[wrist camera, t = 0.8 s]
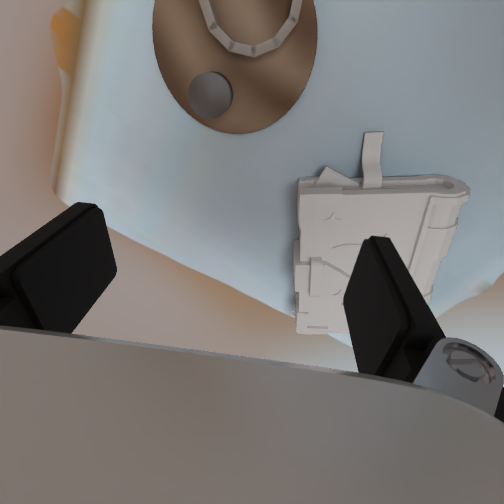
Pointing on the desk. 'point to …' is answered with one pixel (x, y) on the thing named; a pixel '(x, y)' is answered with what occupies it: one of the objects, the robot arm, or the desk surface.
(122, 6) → the desk surface
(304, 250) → the book
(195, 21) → the carrier plate
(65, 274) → the robot arm
